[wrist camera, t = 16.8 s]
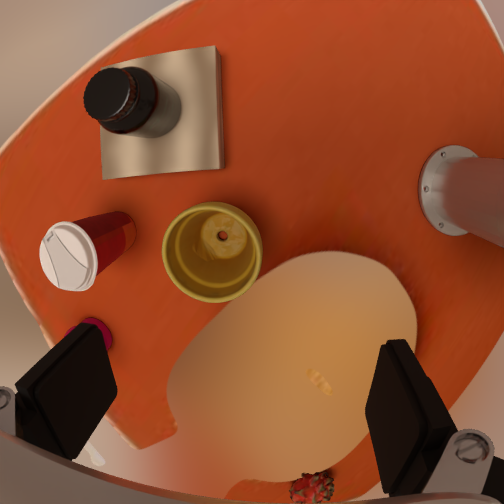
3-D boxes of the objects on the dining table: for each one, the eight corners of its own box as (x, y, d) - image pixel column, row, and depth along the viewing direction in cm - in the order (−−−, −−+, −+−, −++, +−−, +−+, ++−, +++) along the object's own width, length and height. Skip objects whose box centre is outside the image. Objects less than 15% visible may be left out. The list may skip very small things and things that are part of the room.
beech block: (220, 55, 35) (215, 45, 31) (224, 168, 39) (219, 168, 35) (114, 74, 36) (101, 67, 32) (117, 177, 40) (102, 179, 36)
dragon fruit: (334, 459, 54) (296, 476, 59) (310, 469, 49) (270, 485, 54) (350, 490, 49) (309, 505, 53) (327, 504, 43) (284, 517, 48)
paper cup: (88, 221, 42) (26, 246, 28) (125, 193, 40) (66, 209, 27) (114, 266, 43) (61, 306, 30) (153, 242, 42) (105, 278, 28)
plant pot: (190, 273, 43) (168, 304, 33) (181, 197, 40) (154, 209, 31) (266, 271, 42) (264, 302, 33) (262, 192, 39) (258, 201, 30)
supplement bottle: (119, 118, 34) (61, 107, 22) (153, 73, 32) (105, 43, 20) (158, 150, 35) (108, 148, 23) (194, 104, 33) (158, 79, 21)
